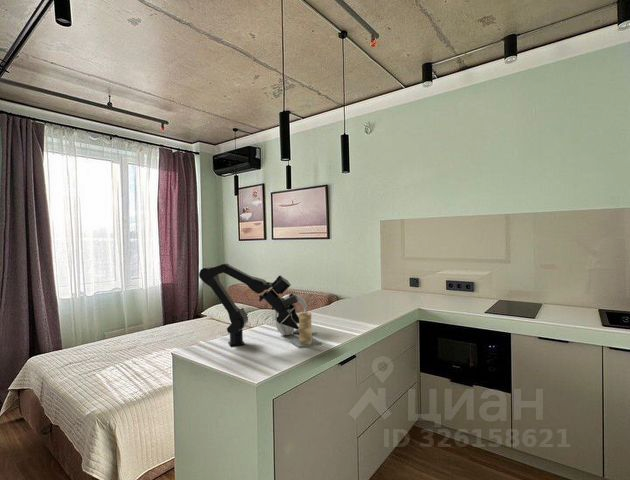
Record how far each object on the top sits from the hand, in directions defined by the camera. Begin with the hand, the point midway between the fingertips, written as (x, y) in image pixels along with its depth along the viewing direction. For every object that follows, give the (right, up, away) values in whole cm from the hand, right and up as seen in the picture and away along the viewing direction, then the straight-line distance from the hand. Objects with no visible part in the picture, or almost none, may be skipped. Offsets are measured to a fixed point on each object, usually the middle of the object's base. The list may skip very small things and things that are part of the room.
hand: (299, 325), depth 146 cm
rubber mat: (+2, -8, +2) cm, 9 cm away
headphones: (-5, -9, +17) cm, 19 cm away
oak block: (+3, -7, 0) cm, 8 cm away
